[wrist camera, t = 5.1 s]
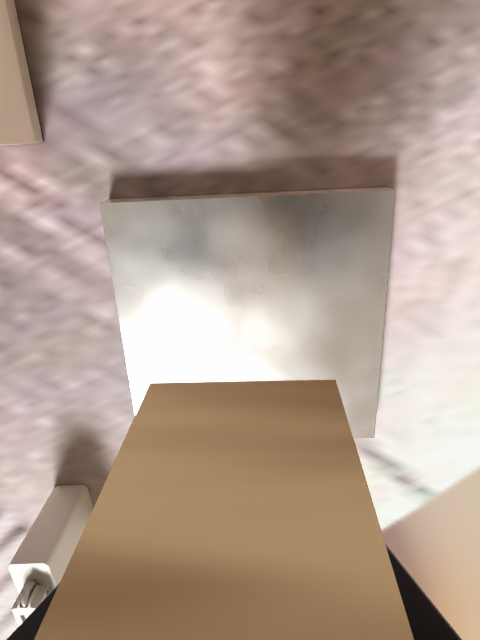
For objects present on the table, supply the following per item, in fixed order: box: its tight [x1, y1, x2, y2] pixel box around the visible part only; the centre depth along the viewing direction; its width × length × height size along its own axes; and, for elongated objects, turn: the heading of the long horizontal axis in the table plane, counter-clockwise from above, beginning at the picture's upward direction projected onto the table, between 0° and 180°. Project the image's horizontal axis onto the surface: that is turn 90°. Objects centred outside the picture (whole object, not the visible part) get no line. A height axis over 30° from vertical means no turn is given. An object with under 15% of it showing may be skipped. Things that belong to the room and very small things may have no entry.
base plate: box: [99, 187, 395, 438], centre depth 17 cm, size 10×10×1 cm
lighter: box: [8, 485, 94, 626], centre depth 19 cm, size 7×2×8 cm, turn 6°
